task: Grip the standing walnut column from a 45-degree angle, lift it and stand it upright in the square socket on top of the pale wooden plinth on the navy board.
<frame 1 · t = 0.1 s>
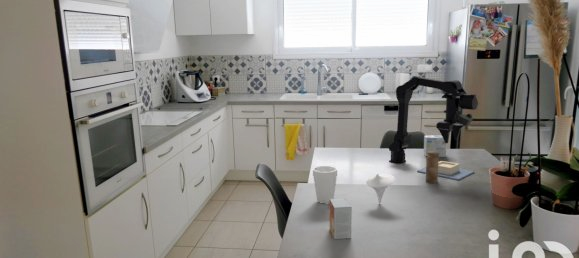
hand: (451, 141, 197), 15 cm above the table, tool pointing down, fingers open, 9 cm apart
foam cup: (325, 201, 165), on the table
light bulb box: (434, 156, 230), on the table
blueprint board: (445, 172, 199), on the table
walnut column: (431, 181, 186), on the table
small box: (340, 234, 136), on the table
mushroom: (380, 204, 161), on the table
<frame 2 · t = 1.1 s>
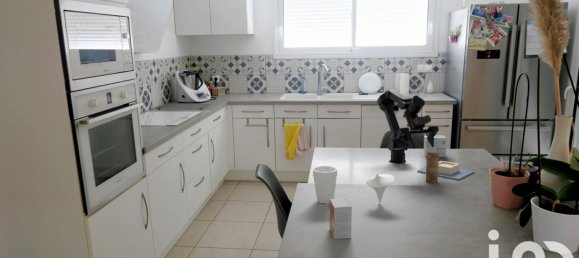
hand: (423, 147, 192), 13 cm above the table, tool tilted 45°, fingers open, 9 cm apart
nothing on the table moved.
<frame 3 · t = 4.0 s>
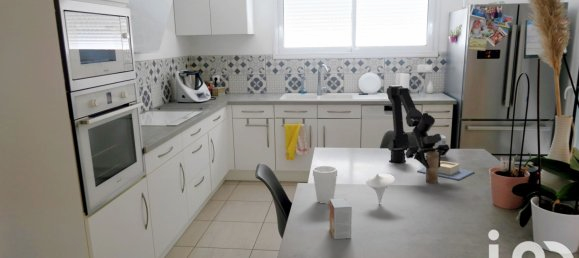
hand: (433, 167, 184), 7 cm above the table, tool tilted 45°, fingers closed on walnut column, 5 cm apart
walnut column: (431, 181, 186), on the table, touching gripper
everything else where it was.
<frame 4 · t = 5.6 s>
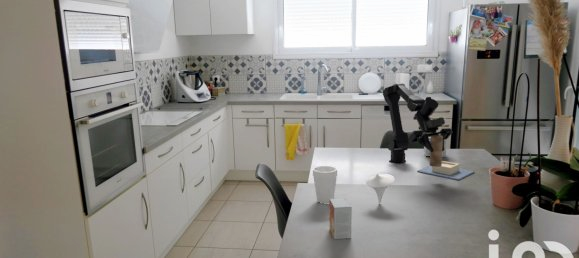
hand: (438, 151, 184), 13 cm above the table, tool tilted 45°, fingers closed on walnut column, 5 cm apart
walnut column: (435, 165, 187), point 7 cm above the table, touching gripper
everything else where it was.
when the fingers open (11 cm above the table, at t = 7.7 s): walnut column drops 1 cm, resting on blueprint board.
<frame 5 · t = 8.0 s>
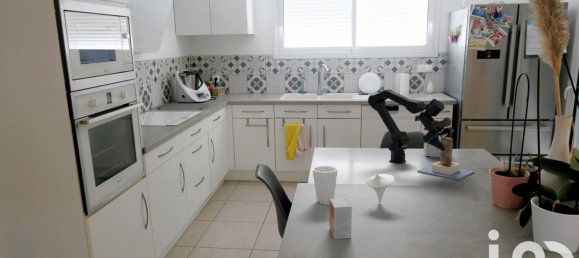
hand: (449, 149, 196), 11 cm above the table, tool tilted 45°, fingers open, 8 cm apart
walnut column: (445, 165, 199), point 3 cm above the table, touching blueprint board
everything else where it was.
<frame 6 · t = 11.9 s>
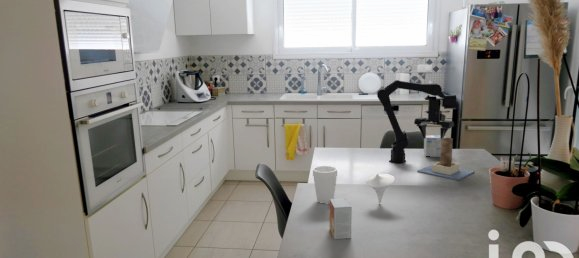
hand: (433, 139, 214), 12 cm above the table, tool pointing down, fingers open, 9 cm apart
nothing on the table moved.
at the end: walnut column 0.0 cm off-centre on the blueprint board, point 3.1 cm above the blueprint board's base; walnut column tilted 0°; the gripper is holding nothing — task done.
